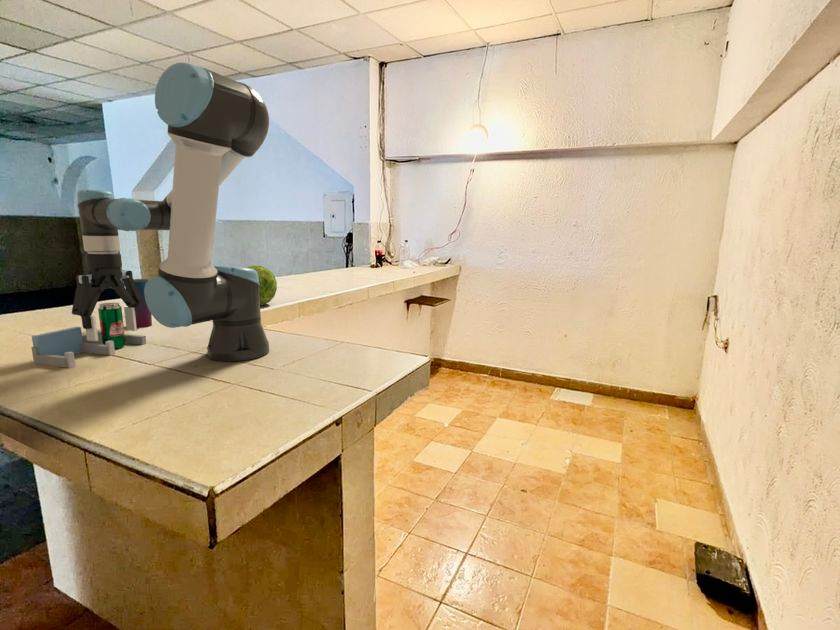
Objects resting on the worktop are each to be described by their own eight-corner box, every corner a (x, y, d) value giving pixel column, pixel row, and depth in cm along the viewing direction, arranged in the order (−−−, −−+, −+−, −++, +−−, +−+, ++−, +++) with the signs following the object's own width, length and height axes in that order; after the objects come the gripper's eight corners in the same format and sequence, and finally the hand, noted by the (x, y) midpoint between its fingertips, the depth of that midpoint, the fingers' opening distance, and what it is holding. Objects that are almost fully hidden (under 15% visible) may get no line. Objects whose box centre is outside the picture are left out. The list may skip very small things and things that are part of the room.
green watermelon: (250, 313, 191) (271, 284, 196) (265, 313, 172) (288, 281, 177) (217, 290, 183) (240, 261, 188) (229, 288, 164) (255, 256, 169)
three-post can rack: (148, 343, 119) (145, 321, 118) (70, 367, 99) (66, 340, 97) (116, 340, 122) (113, 318, 120) (33, 363, 101) (29, 336, 100)
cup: (159, 325, 140) (154, 280, 136) (136, 329, 134) (131, 282, 131) (148, 322, 143) (143, 278, 140) (126, 326, 137) (120, 280, 134)
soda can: (114, 351, 112) (108, 306, 109) (98, 349, 113) (92, 305, 110) (130, 345, 117) (125, 302, 114) (115, 344, 118) (109, 301, 115)
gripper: (130, 249, 121) (138, 324, 126) (43, 254, 99) (57, 345, 104) (152, 250, 120) (159, 326, 124) (68, 255, 98) (81, 348, 102)
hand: (113, 335), depth 114 cm, fingers open, 11 cm apart
